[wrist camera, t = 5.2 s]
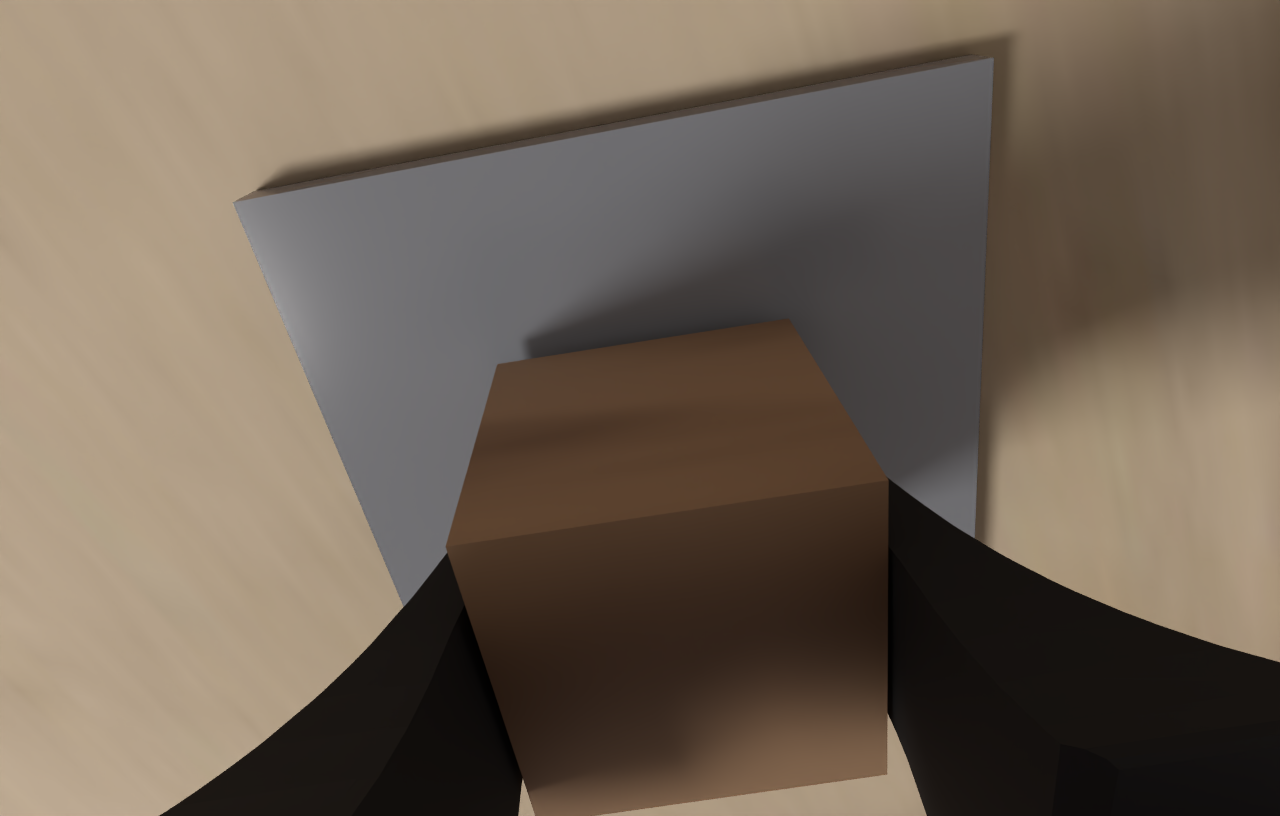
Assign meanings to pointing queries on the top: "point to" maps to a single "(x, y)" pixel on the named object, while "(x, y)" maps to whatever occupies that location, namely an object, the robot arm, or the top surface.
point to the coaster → (648, 275)
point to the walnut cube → (677, 572)
